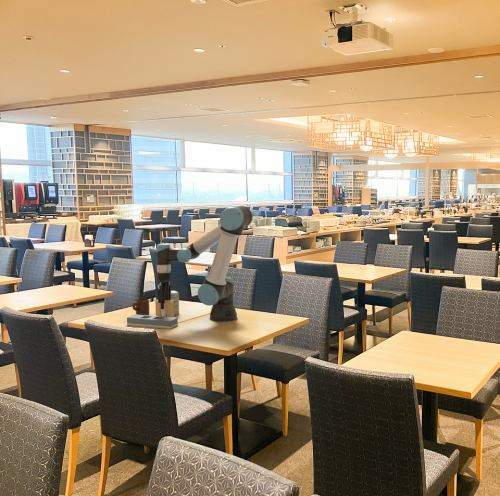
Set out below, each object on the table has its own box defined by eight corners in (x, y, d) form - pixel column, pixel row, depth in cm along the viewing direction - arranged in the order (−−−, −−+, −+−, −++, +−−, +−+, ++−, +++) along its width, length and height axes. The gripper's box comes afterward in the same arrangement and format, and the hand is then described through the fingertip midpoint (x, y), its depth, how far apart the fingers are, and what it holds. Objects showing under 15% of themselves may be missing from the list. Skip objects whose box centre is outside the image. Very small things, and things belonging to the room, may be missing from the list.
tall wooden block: (174, 319, 315) (173, 300, 314) (171, 320, 312) (171, 301, 311) (158, 318, 318) (157, 299, 317) (155, 319, 315) (155, 300, 314)
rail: (177, 325, 301) (177, 317, 301) (170, 328, 294) (170, 320, 293) (135, 321, 310) (134, 314, 310) (127, 324, 303) (126, 317, 302)
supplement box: (163, 312, 332) (162, 291, 331) (175, 311, 335) (175, 290, 334) (167, 315, 325) (166, 293, 324) (179, 313, 328) (179, 292, 327)
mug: (138, 319, 316) (138, 302, 315) (127, 318, 319) (127, 301, 318) (152, 315, 326) (151, 299, 325) (141, 313, 330) (141, 297, 329)
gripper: (164, 269, 321) (165, 310, 323) (150, 273, 306) (151, 316, 308) (176, 270, 318) (177, 311, 321) (162, 274, 303) (163, 317, 306)
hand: (164, 313), depth 315 cm, fingers closed on tall wooden block, 3 cm apart
